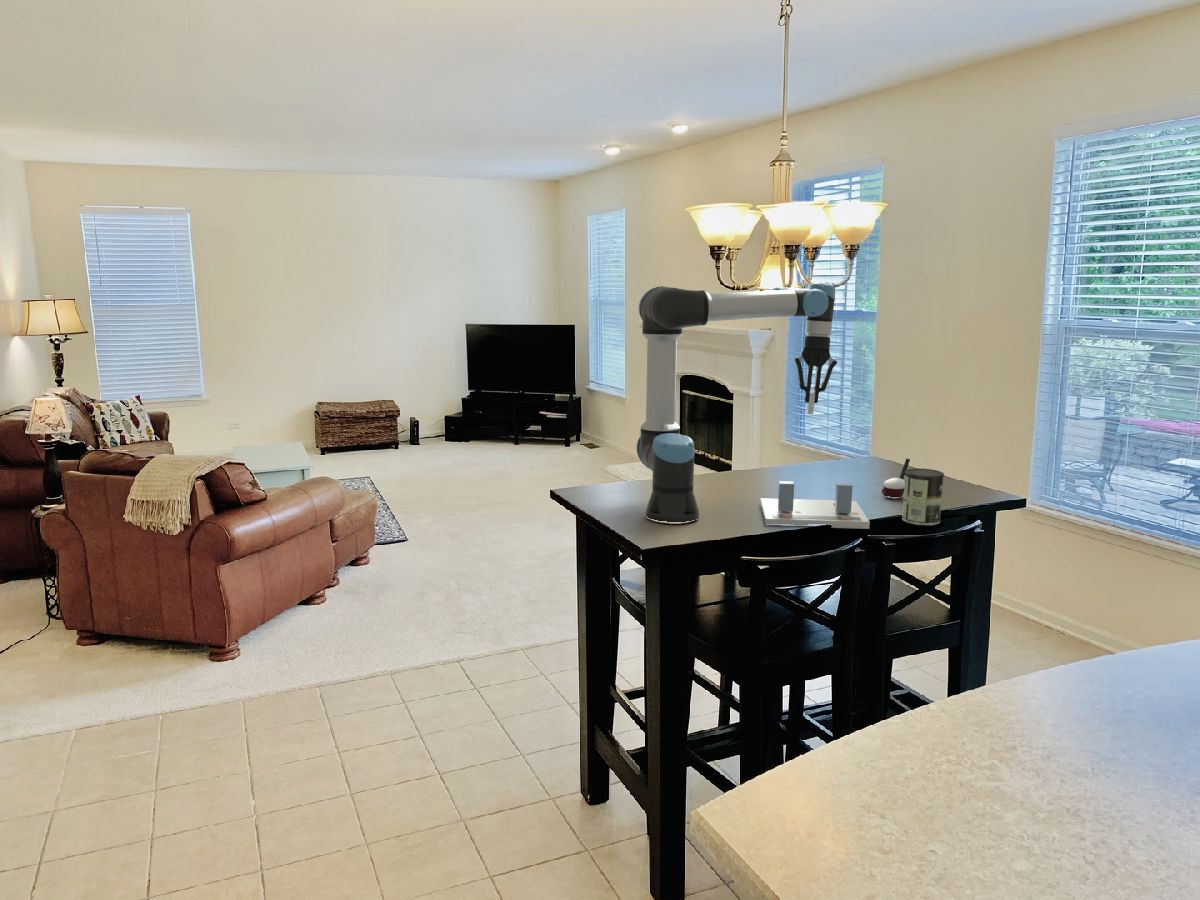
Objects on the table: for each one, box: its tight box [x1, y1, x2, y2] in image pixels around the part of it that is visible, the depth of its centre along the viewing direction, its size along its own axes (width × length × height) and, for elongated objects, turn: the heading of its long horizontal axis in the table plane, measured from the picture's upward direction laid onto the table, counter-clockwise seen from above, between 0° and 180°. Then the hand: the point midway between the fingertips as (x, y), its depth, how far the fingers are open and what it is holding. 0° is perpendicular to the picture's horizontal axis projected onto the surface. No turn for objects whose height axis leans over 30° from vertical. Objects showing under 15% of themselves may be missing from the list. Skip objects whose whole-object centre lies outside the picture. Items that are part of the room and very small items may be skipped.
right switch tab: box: [834, 482, 853, 513], centre depth 245 cm, size 4×3×8 cm
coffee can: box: [901, 467, 945, 526], centre depth 245 cm, size 10×10×14 cm
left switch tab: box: [777, 480, 795, 511], centre depth 247 cm, size 4×3×8 cm
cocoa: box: [881, 457, 911, 498], centre depth 269 cm, size 10×6×12 cm, turn 90°
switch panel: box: [759, 497, 871, 530], centre depth 250 cm, size 28×22×2 cm
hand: (809, 413), depth 265 cm, fingers closed
